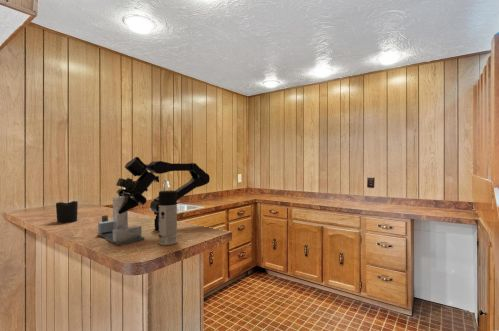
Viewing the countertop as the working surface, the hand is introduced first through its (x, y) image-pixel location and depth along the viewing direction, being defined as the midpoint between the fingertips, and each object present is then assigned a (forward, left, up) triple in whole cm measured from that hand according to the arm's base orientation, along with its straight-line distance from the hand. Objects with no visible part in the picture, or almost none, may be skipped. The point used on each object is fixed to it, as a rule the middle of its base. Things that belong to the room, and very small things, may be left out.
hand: (116, 212), depth 109 cm
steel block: (-1, -1, -7) cm, 7 cm away
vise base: (-1, -1, -10) cm, 11 cm away
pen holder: (+40, -32, -11) cm, 52 cm away
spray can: (-23, +8, -11) cm, 27 cm away
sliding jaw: (+8, -10, -9) cm, 16 cm away
